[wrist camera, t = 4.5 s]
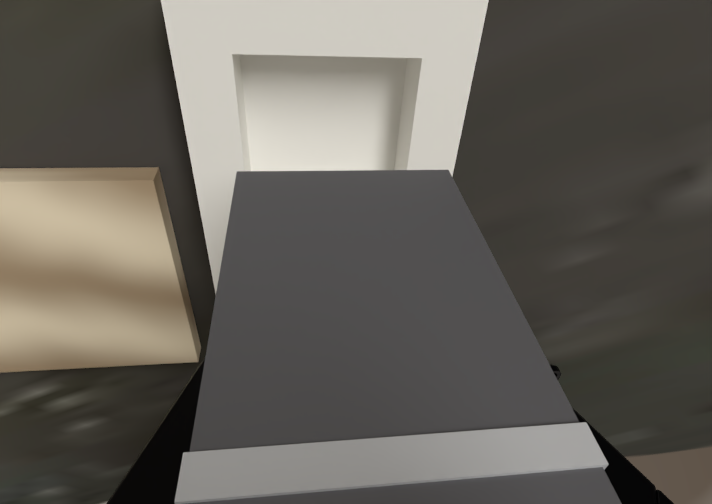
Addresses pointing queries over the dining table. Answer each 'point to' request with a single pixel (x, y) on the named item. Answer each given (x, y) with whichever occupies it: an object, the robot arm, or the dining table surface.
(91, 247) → the birch pad
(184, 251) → the dining table surface
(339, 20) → the switch housing
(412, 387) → the block
